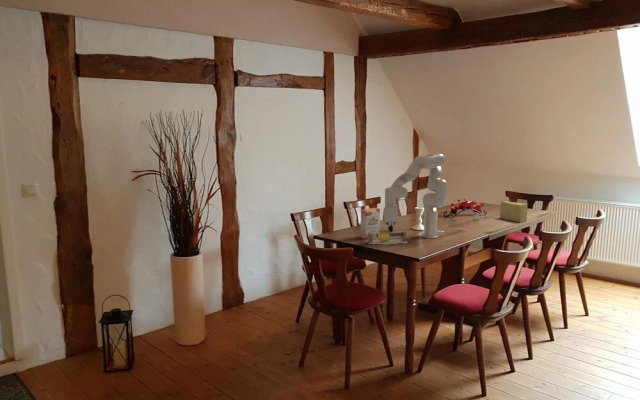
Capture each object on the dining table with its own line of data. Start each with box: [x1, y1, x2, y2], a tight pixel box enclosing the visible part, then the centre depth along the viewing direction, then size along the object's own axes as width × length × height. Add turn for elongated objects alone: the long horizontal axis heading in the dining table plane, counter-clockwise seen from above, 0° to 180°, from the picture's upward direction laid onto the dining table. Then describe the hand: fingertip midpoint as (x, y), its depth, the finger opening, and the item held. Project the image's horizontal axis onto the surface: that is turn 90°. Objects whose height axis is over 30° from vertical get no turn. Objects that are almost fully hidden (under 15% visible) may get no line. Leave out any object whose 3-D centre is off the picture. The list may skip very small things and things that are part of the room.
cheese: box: [499, 200, 528, 223], centre depth 400 cm, size 22×10×15 cm, turn 33°
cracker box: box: [360, 207, 381, 240], centre depth 351 cm, size 14×6×21 cm, turn 126°
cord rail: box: [367, 231, 408, 245], centre depth 335 cm, size 26×9×8 cm, turn 96°
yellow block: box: [377, 227, 390, 241], centre depth 335 cm, size 6×7×8 cm
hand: (390, 231), depth 335 cm, fingers closed
